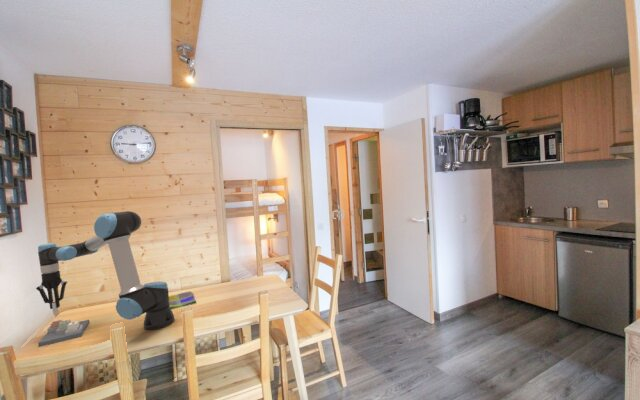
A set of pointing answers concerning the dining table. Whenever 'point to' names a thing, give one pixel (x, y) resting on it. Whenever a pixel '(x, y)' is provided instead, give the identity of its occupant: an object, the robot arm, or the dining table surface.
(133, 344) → the dining table surface
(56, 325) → the terracotta tile
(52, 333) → the button board
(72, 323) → the cream tile
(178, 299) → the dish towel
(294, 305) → the dining table surface
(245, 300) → the dining table surface
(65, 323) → the sage tile
